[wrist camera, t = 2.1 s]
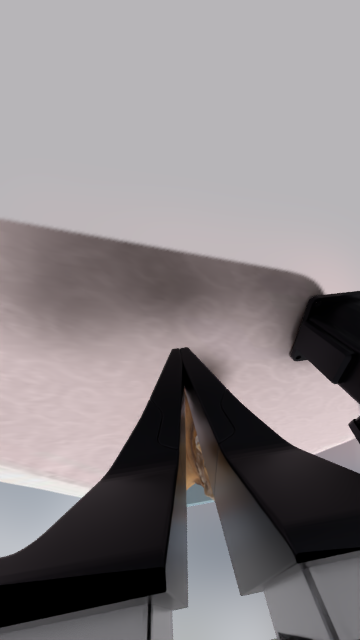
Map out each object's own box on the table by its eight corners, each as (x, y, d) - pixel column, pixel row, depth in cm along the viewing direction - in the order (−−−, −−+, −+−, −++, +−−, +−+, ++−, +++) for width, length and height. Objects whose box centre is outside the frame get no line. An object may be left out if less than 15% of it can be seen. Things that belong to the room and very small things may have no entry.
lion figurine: (189, 356, 16) (221, 490, 8) (236, 371, 17) (299, 494, 10) (131, 440, 22) (118, 565, 14) (170, 446, 23) (177, 559, 16)
